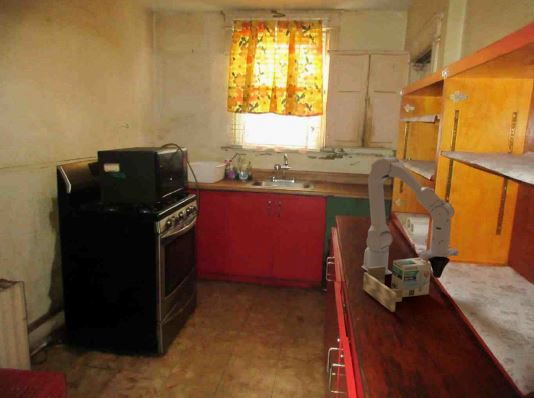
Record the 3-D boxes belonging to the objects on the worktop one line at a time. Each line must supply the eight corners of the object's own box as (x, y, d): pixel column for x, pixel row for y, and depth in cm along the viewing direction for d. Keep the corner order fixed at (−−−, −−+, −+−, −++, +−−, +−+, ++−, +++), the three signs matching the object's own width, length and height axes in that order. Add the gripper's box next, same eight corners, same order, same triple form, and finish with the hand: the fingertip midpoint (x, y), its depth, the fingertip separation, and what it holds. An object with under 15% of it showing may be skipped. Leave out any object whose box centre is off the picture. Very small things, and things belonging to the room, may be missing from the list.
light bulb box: (401, 297, 124) (404, 266, 122) (390, 289, 130) (392, 259, 128) (429, 294, 127) (432, 263, 125) (416, 286, 133) (419, 257, 131)
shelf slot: (363, 289, 130) (364, 267, 129) (381, 286, 132) (383, 265, 131) (391, 312, 114) (393, 287, 113) (412, 309, 116) (414, 284, 115)
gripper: (430, 244, 122) (426, 283, 125) (466, 240, 126) (462, 279, 129) (416, 238, 129) (413, 275, 131) (451, 235, 133) (447, 271, 135)
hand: (436, 276), depth 130 cm, fingers closed
